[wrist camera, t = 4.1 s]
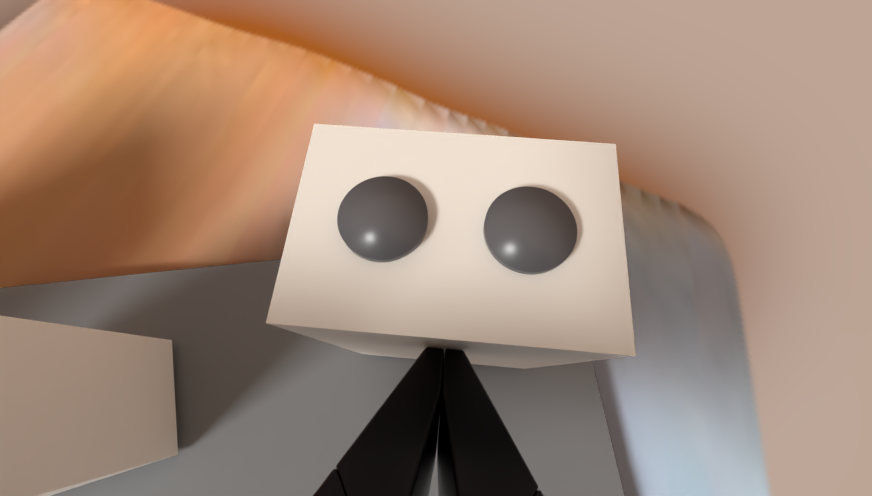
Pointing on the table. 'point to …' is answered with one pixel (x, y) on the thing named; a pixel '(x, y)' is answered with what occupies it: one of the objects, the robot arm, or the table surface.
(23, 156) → the table surface
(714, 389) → the table surface
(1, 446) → the push button box
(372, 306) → the white block grey domes
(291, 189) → the table surface
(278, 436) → the key mat
